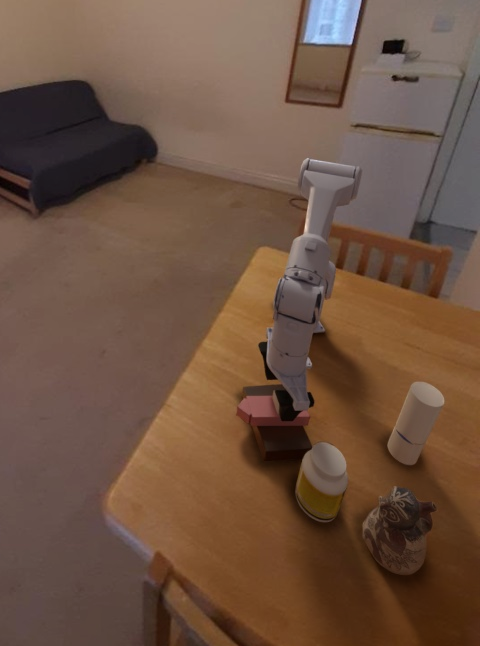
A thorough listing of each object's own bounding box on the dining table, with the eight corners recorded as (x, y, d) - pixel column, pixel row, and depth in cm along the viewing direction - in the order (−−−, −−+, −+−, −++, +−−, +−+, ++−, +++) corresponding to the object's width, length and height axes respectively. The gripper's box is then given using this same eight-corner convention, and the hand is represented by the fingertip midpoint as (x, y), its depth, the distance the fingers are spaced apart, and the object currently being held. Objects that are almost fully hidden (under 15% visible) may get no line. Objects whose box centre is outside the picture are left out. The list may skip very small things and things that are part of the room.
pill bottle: (342, 528, 60) (359, 486, 55) (298, 519, 61) (310, 477, 56) (331, 482, 65) (345, 440, 61) (291, 474, 67) (301, 433, 62)
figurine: (361, 505, 62) (380, 459, 57) (416, 529, 59) (441, 484, 54) (363, 559, 57) (384, 513, 51) (424, 588, 54) (452, 544, 48)
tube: (413, 443, 70) (439, 385, 64) (420, 468, 67) (448, 410, 60) (384, 435, 72) (407, 378, 65) (390, 460, 68) (415, 402, 61)
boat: (299, 404, 74) (303, 387, 72) (308, 425, 71) (312, 408, 69) (233, 404, 75) (235, 387, 73) (239, 426, 71) (241, 409, 69)
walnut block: (241, 396, 79) (242, 386, 78) (281, 393, 80) (283, 383, 78) (264, 462, 69) (266, 451, 67) (310, 458, 69) (313, 448, 67)
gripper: (336, 382, 58) (319, 439, 64) (298, 308, 71) (287, 362, 77) (286, 382, 58) (275, 440, 64) (257, 309, 71) (250, 362, 77)
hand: (279, 397), depth 71 cm, fingers open, 7 cm apart
